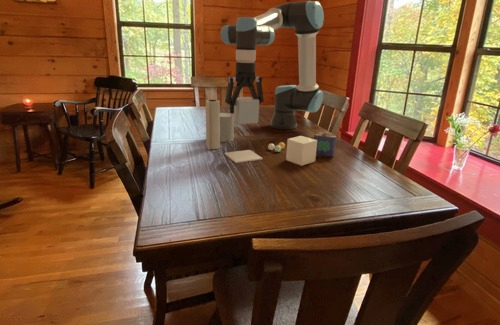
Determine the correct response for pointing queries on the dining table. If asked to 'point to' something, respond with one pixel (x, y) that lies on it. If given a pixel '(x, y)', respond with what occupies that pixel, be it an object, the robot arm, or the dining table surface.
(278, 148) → the green marble
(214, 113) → the paper towel roll
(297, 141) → the beige rectangular block
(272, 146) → the white marble
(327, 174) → the dining table surface
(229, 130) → the speckled beige cylinder
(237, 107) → the pale sage cube
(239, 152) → the mat
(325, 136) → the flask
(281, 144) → the amber marble
